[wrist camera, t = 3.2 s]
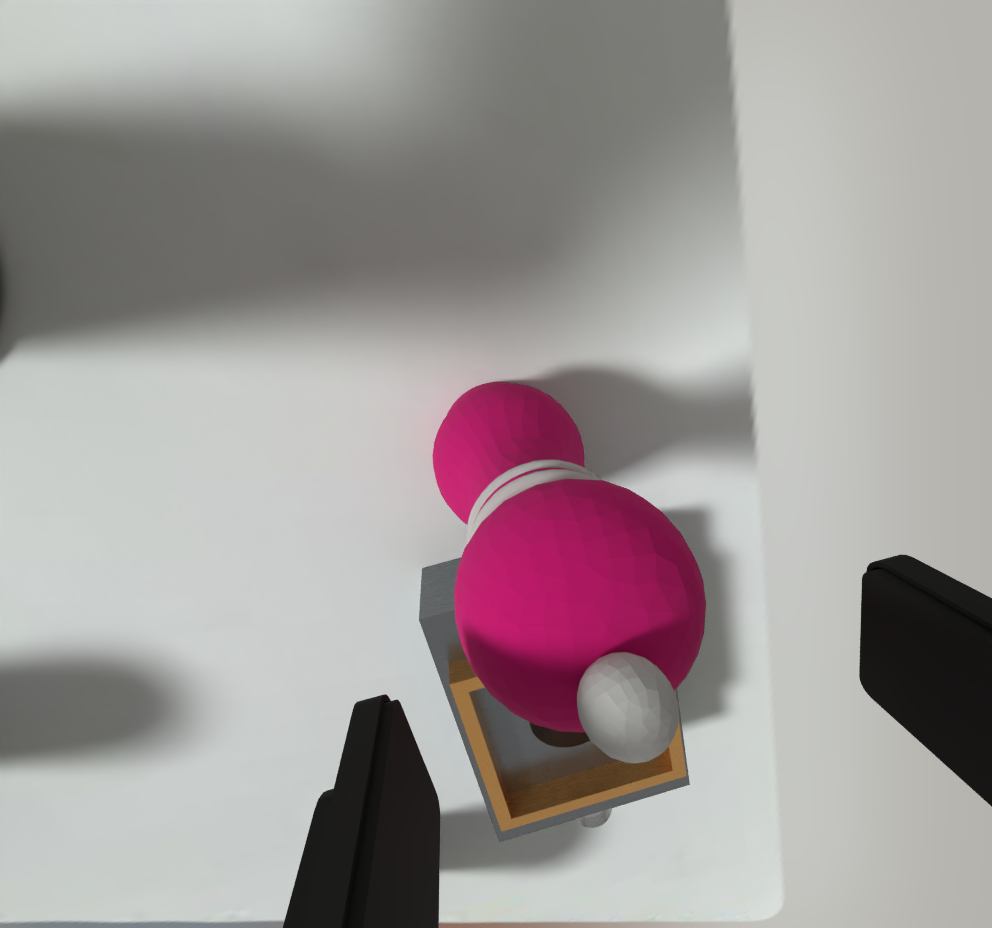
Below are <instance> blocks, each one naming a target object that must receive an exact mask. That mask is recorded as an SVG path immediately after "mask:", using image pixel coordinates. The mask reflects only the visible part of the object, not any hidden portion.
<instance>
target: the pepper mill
mask: <svg viewBox="0 0 992 928" xmlns="http://www.w3.org/2000/svg"><path fill="white" fill-rule="evenodd" d="M433 467H434V472H435V476H436V480H437V484H438V487H439V490H440V492H441V495H442V496H443V498H444V500H445V501H446V503H447V505H448V506H449V507H450V508H451V509H452V510H453V512H454V513H455V514H456V515H457V516H458V517H459V518H460V519H461V520H462V521H463V522H464V523H465V524H467V529H466V545H467V546H466V547H465V549H464V552H463V555H462V558H461V561H460V564H459V566H458V570H457V576H456V582H455V589H454V600H455V621H456V625H457V628H458V632H459V636H460V640H461V644H462V647H463V650H464V652H465V654H466V656H467V659H468V661H469V663H470V665H471V667H472V669H473V671H474V673H475V674H476V676H477V677H478V678H479V680H480V681H481V682H482V684H483V685H484V686H485V688H486V689H487V691H488V692H489V693H490V694H491V695H492V696H493V697H494V698H495V699H497V700H498V701H499V702H500V703H501V704H503V705H504V706H505V707H506V708H507V709H509V710H510V711H511V712H512V713H513V714H515V715H517V716H519V717H521V718H523V719H525V720H527V721H529V722H531V723H533V724H535V725H538V726H542V727H546V728H550V729H553V730H557V731H564V732H582V733H583V732H586V734H587V735H588V737H589V739H590V740H591V742H592V743H593V744H595V745H596V746H597V747H598V748H599V749H601V750H602V751H603V752H604V753H605V754H607V755H608V756H610V757H611V758H613V759H617V760H620V761H623V762H626V763H642V762H647V761H650V760H652V759H654V758H655V757H657V756H659V755H660V754H662V753H663V752H664V751H665V750H666V749H667V748H668V747H669V745H670V743H671V742H672V740H673V738H674V735H675V733H676V730H677V728H678V721H679V711H678V701H677V699H676V696H675V693H674V690H675V689H676V688H677V687H678V686H679V685H680V683H681V682H682V681H683V680H684V679H685V678H686V676H687V674H688V673H689V671H690V669H691V667H692V665H693V663H694V661H695V659H696V657H697V655H698V652H699V649H700V645H701V641H702V638H703V634H704V625H705V609H706V601H705V593H704V585H703V580H702V576H701V573H700V570H699V567H698V564H697V562H696V560H695V558H694V556H693V554H692V552H691V550H690V549H689V547H688V545H687V543H686V542H685V540H684V538H683V536H682V535H681V533H680V532H679V531H678V530H677V528H676V527H675V526H674V525H673V524H672V523H671V522H670V521H669V519H668V518H667V517H666V516H665V515H664V514H663V513H662V512H661V511H660V510H659V509H657V508H656V507H655V506H653V505H652V504H651V503H649V502H648V501H647V500H645V499H644V498H642V497H641V496H639V495H637V494H636V493H634V492H632V491H630V490H629V489H626V488H623V487H621V486H618V485H615V484H612V483H609V482H606V481H602V480H601V479H600V478H599V477H598V476H596V475H595V474H594V473H592V472H591V471H590V470H588V469H586V468H584V450H583V444H582V440H581V436H580V433H579V431H578V429H577V427H576V424H575V423H574V422H573V420H572V419H571V417H570V416H569V414H568V413H567V412H566V411H565V409H564V408H563V407H562V406H561V405H560V404H559V403H558V402H557V401H555V400H554V399H553V398H552V397H551V396H549V395H547V394H546V393H544V392H542V391H540V390H538V389H535V388H532V387H529V386H525V385H519V384H510V383H504V382H492V383H486V384H482V385H479V386H476V387H474V388H472V389H471V390H469V391H467V392H466V393H464V394H463V395H462V396H461V397H460V398H459V399H458V400H457V401H456V402H455V403H454V404H453V406H452V407H451V409H450V410H449V412H448V414H447V416H446V418H445V419H444V420H443V422H442V424H441V426H440V428H439V430H438V433H437V436H436V439H435V442H434V449H433Z"/></svg>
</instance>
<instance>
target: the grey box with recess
mask: <svg viewBox="0 0 992 928" xmlns="http://www.w3.org/2000/svg"><path fill="white" fill-rule="evenodd" d="M460 561H461V558H459V559H455V560H452V561H448V562H444V563H441V564H437V565H434V566H430V567H426V568H423V569H422V579H421V596H420V613H419V621H420V624H421V626H422V629H423V632H424V635H425V637H426V640H427V643H428V646H429V649H430V651H431V654H432V657H433V660H434V662H435V665H436V668H437V671H438V673H439V676H440V679H441V682H442V685H443V687H444V690H445V693H446V696H447V698H448V701H449V704H450V707H451V710H452V712H453V715H454V718H455V721H456V723H457V726H458V729H459V732H460V734H461V737H462V740H463V743H464V746H465V748H466V751H467V754H468V757H469V759H470V762H471V765H472V768H473V770H474V773H475V776H476V779H477V782H478V784H479V787H480V790H481V793H482V795H483V798H484V801H485V804H486V806H487V809H488V812H489V815H490V818H491V820H492V823H493V826H494V829H495V831H496V834H497V837H498V840H499V842H501V841H504V840H508V839H511V838H514V837H518V836H521V835H524V834H528V833H531V832H534V831H538V830H541V829H544V828H547V827H551V826H554V825H557V824H561V823H564V822H567V821H571V820H574V819H575V820H576V821H577V822H578V823H580V824H581V825H583V826H586V827H591V828H593V827H598V826H601V825H602V824H604V823H605V822H606V821H607V820H608V818H609V816H610V814H611V810H612V808H614V807H617V806H620V805H624V804H627V803H630V802H634V801H637V800H640V799H644V798H647V797H650V796H654V795H657V794H660V793H663V792H667V791H670V790H673V789H677V788H680V787H683V786H687V785H690V784H689V776H688V769H687V761H686V754H685V747H684V739H683V732H682V724H681V717H680V710H679V702H678V711H679V721H678V728H677V730H676V733H675V735H674V738H673V740H672V742H671V743H670V745H669V747H668V748H667V749H666V750H665V751H664V752H663V753H662V754H660V755H659V756H657V757H655V758H654V759H652V760H650V761H647V762H642V763H626V762H623V761H620V760H617V759H613V758H611V757H610V756H608V755H607V754H605V753H604V752H603V751H602V750H601V749H599V748H598V747H597V746H596V745H595V744H593V743H592V742H591V740H590V739H589V737H588V735H587V734H586V732H583V733H582V732H564V731H557V730H553V729H550V728H546V727H542V726H538V725H535V724H533V723H531V722H529V721H527V720H525V719H523V718H521V717H519V716H517V715H515V714H513V713H512V712H511V711H510V710H509V709H507V708H506V707H505V706H504V705H503V704H501V703H500V702H499V701H498V700H497V699H495V698H494V697H493V696H492V695H491V694H490V693H489V692H488V691H487V689H486V688H485V686H484V685H483V684H482V682H481V681H480V680H479V678H478V677H477V676H476V674H475V673H474V671H473V669H472V667H471V665H470V663H469V661H468V659H467V656H466V654H465V652H464V650H463V647H462V644H461V640H460V636H459V632H458V628H457V625H456V621H455V600H454V589H455V582H456V576H457V570H458V566H459V564H460ZM674 693H675V696H676V699H677V701H678V695H677V688H676V689H675V690H674Z"/></svg>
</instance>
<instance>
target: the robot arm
mask: <svg viewBox="0 0 992 928" xmlns="http://www.w3.org/2000/svg"><path fill="white" fill-rule="evenodd" d="M860 681H861V684H862V686H863V688H864V690H865V691H866V692H867V694H868V695H869V696H870V697H871V698H872V699H873V700H874V701H876V702H877V703H878V704H879V705H880V706H881V707H882V708H883V709H884V710H885V711H887V712H888V713H889V714H890V715H891V716H892V717H893V718H894V719H895V720H896V721H898V722H899V723H900V724H901V725H902V726H903V727H904V728H905V729H907V730H908V731H909V732H910V733H911V734H912V735H913V736H914V737H915V738H917V739H918V740H919V741H920V742H921V743H922V744H923V745H924V746H925V747H926V748H928V749H929V750H930V751H931V752H932V753H933V754H934V755H935V756H936V757H938V758H939V759H940V760H941V761H942V762H943V763H944V764H945V765H946V766H947V767H949V768H950V769H951V770H952V771H953V772H954V773H955V774H956V775H957V776H959V777H960V778H961V779H962V780H963V781H964V782H965V783H966V784H967V785H969V786H970V787H971V788H972V789H973V790H974V791H975V792H976V793H978V794H979V795H980V796H981V797H982V798H983V799H984V800H985V801H986V802H988V804H990V805H991V806H992V598H990V597H988V596H986V595H984V594H982V593H980V592H979V591H977V590H975V589H973V588H971V587H969V586H967V585H965V584H963V583H961V582H959V581H957V580H955V579H953V578H951V577H950V576H948V575H946V574H944V573H942V572H940V571H938V570H936V569H934V568H932V567H930V566H928V565H927V564H925V563H923V562H921V561H919V560H917V559H915V558H913V557H910V556H907V555H898V556H894V557H890V558H886V559H883V560H879V561H875V562H872V563H870V564H869V566H868V567H867V572H866V573H865V574H864V575H863V577H862V601H861V637H860ZM439 858H440V807H439V801H438V796H437V793H436V791H435V788H434V786H433V783H432V781H431V778H430V776H429V773H428V771H427V768H426V766H425V763H424V761H423V758H422V756H421V753H420V751H419V748H418V746H417V743H416V741H415V738H414V736H413V733H412V731H411V728H410V726H409V723H408V721H407V718H406V716H405V713H404V711H403V708H402V706H401V704H400V702H399V701H398V700H394V701H390V699H389V697H388V696H387V695H381V696H377V697H374V698H370V699H366V700H363V701H359V702H357V703H356V704H355V705H354V708H353V712H352V716H351V720H350V724H349V728H348V732H347V737H346V741H345V745H344V749H343V753H342V757H341V761H340V766H339V770H338V774H337V778H336V782H335V786H334V789H331V790H328V791H326V792H324V793H323V794H322V795H321V796H320V798H319V799H318V802H317V805H316V808H315V811H314V814H313V818H312V822H311V825H310V829H309V833H308V836H307V840H306V844H305V848H304V851H303V855H302V859H301V862H300V866H299V870H298V873H297V877H296V881H295V885H294V888H293V892H292V896H291V899H290V903H289V907H288V910H287V914H286V918H285V922H284V925H283V928H438V921H439Z"/></svg>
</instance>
